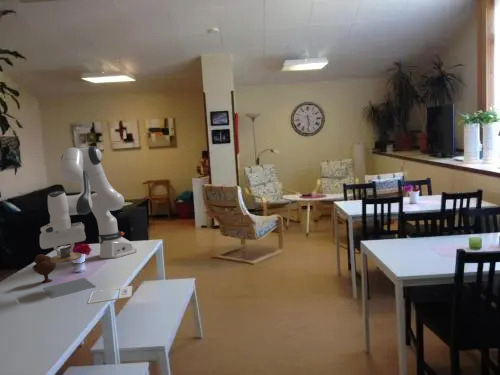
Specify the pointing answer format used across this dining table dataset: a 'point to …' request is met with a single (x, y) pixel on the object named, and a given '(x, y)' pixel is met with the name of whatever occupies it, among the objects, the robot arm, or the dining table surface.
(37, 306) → the dining table surface
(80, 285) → the rubber mat
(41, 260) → the ice cream bowl
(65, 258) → the walnut lid
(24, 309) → the dining table surface
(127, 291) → the photo frame
